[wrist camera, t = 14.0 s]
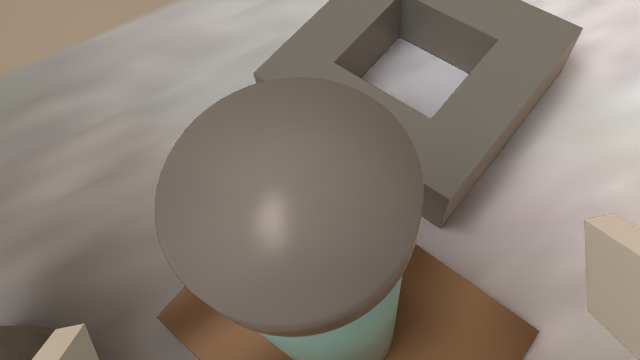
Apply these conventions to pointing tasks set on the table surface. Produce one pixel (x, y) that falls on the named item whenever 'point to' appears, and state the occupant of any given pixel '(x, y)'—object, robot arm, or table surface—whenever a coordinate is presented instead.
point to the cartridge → (295, 215)
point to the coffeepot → (22, 342)
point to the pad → (409, 332)
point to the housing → (453, 47)
